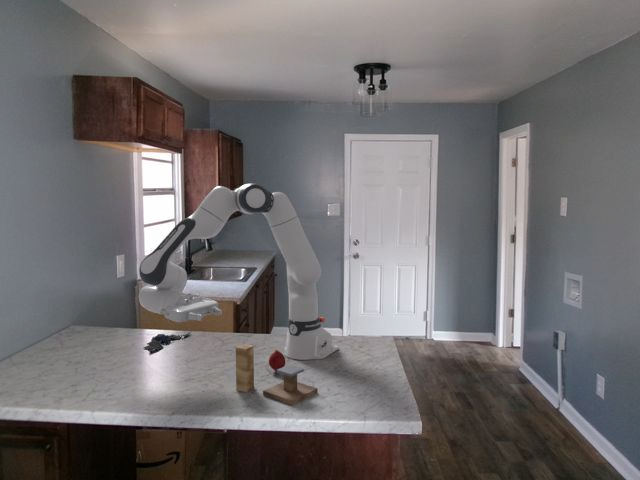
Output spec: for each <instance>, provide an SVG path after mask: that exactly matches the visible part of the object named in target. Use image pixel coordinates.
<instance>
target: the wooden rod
mask: <svg viewBox="0 0 640 480" xmlns="http://www.w3.org/2000/svg"><path fill="white" fill-rule="evenodd" d="M254 347H255V346H254V345H251V344H246V343H242V344H240V345H237V346H235V382H236V383H235V385H236V387H235V388H236V389H235V390H236V391H238V390H239V391H240V392H243V393H248V392H250V391H251V390H253V389H255V370H254V369H255V365H254V363H255V362H254V361H255V359H254V358H255V357H254V355H255V354H254V352H255V351H254Z"/></svg>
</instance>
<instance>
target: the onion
mask: <svg viewBox="0 0 640 480" xmlns="http://www.w3.org/2000/svg"><path fill="white" fill-rule="evenodd" d="M268 365H269V366H270V368H271V369H272V370H274V371H275V372H276V373H277V369H280V368H282V367H285V366H286V357H285V355H284V354H283V353H282V352H281V351H279V350H278V348H275V350H274V352H273V353H271V354H270V355H269V358H268Z"/></svg>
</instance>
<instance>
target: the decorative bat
mask: <svg viewBox="0 0 640 480" xmlns="http://www.w3.org/2000/svg"><path fill="white" fill-rule="evenodd" d="M191 333H192V331H190V332H187V333H186V334H181V335H179V334H174V333H173V334H169V335H168V334H167V335H166V334H164V333H157V334H156V336H152V337H151V340H150V342H148V343H146V346H143V347H142V349H144V350H147V351H148V352H151V353H152V352H156V351H157V352H158V351H160V350H161V351H162V350H163V349H164V346H163V344H164V345H170V344H171V342H174V341H180V339H182V340H184V339H185V338H186V337H187V336H189V335H190V334H191ZM180 336H181V337H180ZM182 336H184V339H183V338H182Z"/></svg>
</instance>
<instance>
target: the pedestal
mask: <svg viewBox="0 0 640 480" xmlns="http://www.w3.org/2000/svg"><path fill="white" fill-rule="evenodd" d="M304 372H305V368H302V367H299V366H297V365H296V366H295V365H293V364H287V365H285V366H284V367H282V368H280V369H277V372H276V373H277V374H280V375H283V381H282V382H280V383H277V384H275V385H273V386H271V387H268V388H267V389H266V388H265V389H264V390H262V396H264V397H267V398H270V399H272V400H275V401H279V402H281V403H285V404H287V405H289V406H294V405H296V404H298V403H300V402H302V401H304V400H306V399H309V398H310V397H313V396H314V395H317V394H318V391H319V389H318V388H317V387H315V386H313V385H312V386H311V385H308V384H304V383H301V382H298V375H299V374H300V373H304Z"/></svg>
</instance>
